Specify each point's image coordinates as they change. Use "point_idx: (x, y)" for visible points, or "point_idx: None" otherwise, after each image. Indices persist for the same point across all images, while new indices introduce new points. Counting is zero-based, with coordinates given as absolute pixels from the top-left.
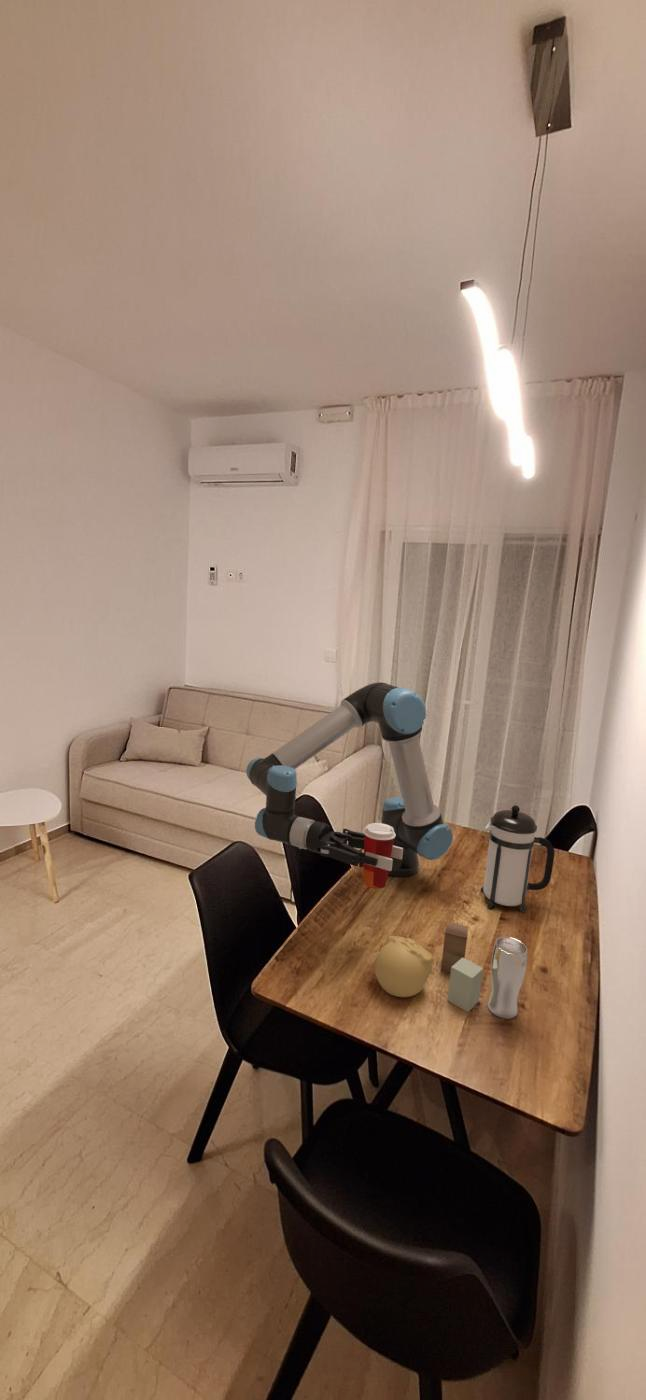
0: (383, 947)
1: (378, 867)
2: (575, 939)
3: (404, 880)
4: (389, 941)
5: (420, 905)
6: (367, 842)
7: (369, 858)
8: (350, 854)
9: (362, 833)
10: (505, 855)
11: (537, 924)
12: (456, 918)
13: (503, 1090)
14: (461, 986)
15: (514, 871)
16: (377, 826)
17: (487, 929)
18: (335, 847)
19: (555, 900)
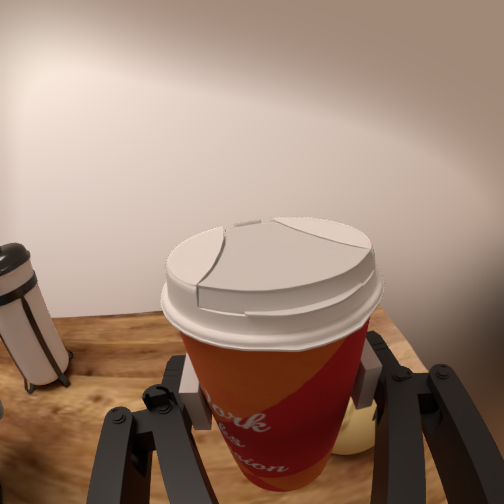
0: (369, 420)
1: None
2: (115, 322)
3: (10, 489)
4: (348, 420)
5: (79, 469)
6: (366, 331)
7: (387, 350)
8: (464, 391)
9: (87, 501)
10: (34, 304)
11: (94, 346)
12: (102, 419)
13: (381, 315)
14: None
15: (48, 316)
16: (249, 253)
17: (119, 384)
18: (490, 494)
19: None
